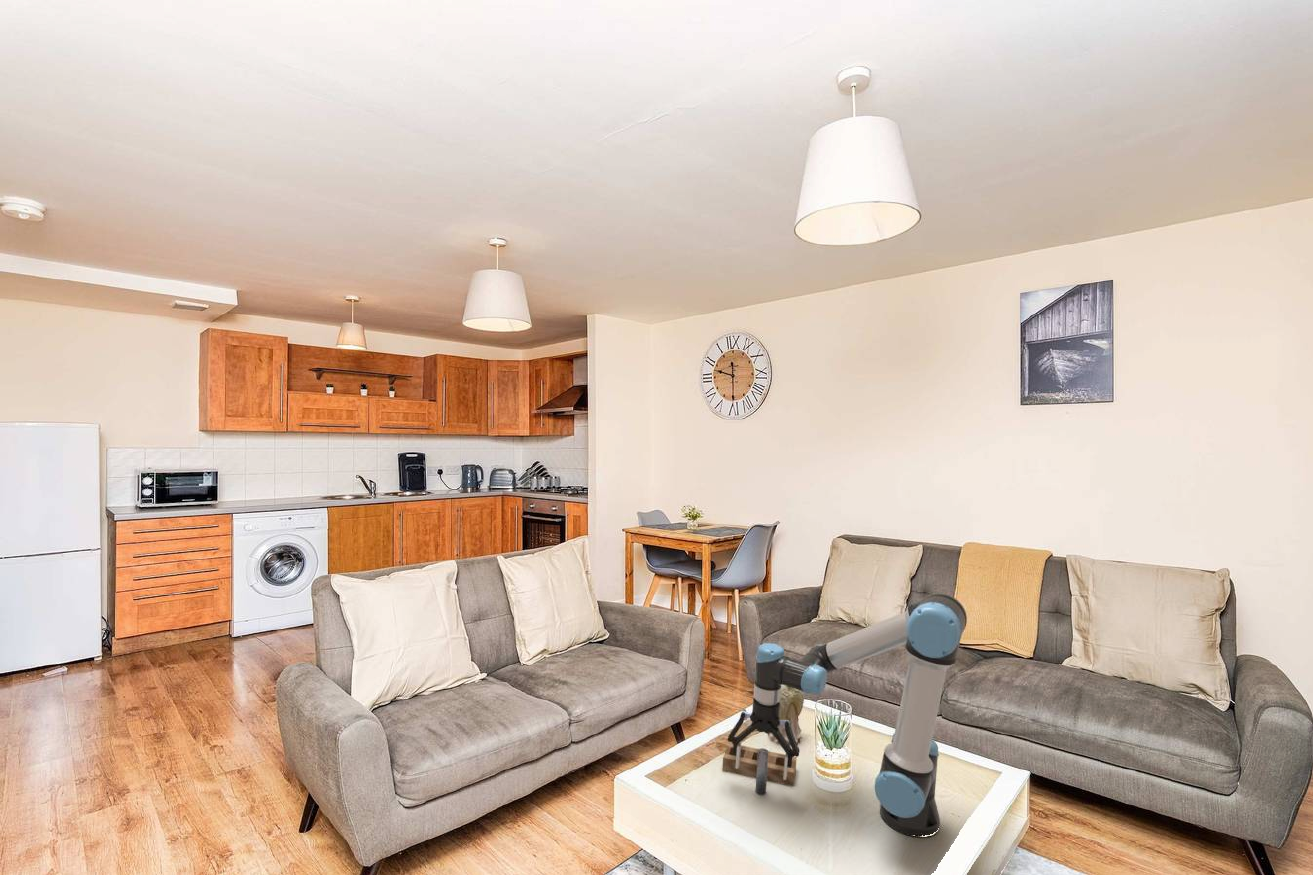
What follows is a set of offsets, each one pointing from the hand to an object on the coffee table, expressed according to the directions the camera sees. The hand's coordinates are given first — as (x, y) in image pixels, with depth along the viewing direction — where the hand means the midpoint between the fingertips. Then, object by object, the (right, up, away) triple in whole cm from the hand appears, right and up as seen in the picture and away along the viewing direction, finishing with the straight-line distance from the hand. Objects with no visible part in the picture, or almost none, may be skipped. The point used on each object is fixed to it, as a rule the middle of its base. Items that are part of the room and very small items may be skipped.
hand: (761, 771), depth 184 cm
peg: (0, -6, 0) cm, 6 cm away
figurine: (+13, -5, +32) cm, 35 cm away
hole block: (+1, -5, +11) cm, 13 cm away
